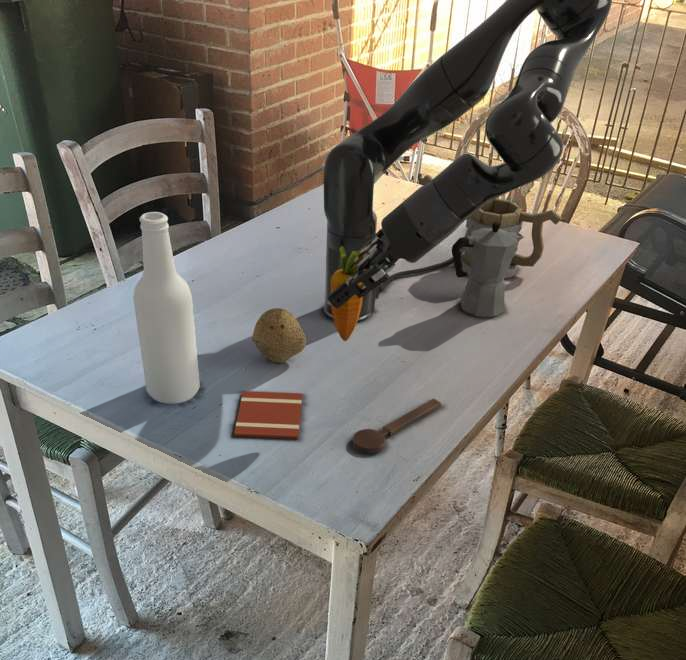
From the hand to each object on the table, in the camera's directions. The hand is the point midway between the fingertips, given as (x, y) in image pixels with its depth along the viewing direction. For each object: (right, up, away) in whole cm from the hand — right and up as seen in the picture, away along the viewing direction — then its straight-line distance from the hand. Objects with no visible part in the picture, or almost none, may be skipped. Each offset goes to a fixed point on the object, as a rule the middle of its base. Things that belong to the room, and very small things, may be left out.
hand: (334, 294), depth 113 cm
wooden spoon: (+10, -20, +10) cm, 24 cm away
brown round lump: (-10, -7, +24) cm, 27 cm away
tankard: (+37, +17, +58) cm, 71 cm away
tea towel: (-11, -17, +11) cm, 23 cm away
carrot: (+2, -6, +5) cm, 8 cm away
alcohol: (-27, -13, +15) cm, 34 cm away
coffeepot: (+29, +6, +43) cm, 52 cm away
